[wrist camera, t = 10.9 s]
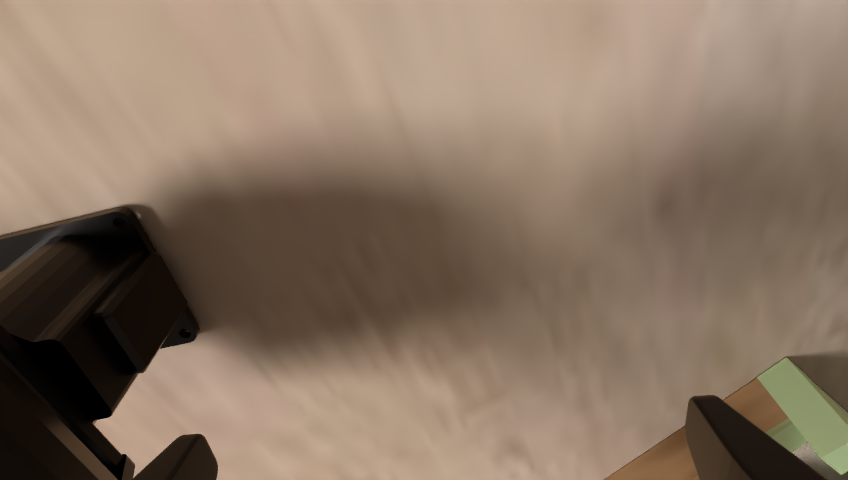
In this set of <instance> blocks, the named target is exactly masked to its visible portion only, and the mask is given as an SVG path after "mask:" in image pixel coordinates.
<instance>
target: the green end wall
mask: <svg viewBox="0 0 848 480" xmlns="http://www.w3.org/2000/svg"><path fill="white" fill-rule="evenodd" d="M757 378H758V380H759V381H760V382H761V383H762V385H763V386H764V387H765V388H766V390H767V391H768V392H769V394H770V395H771V396H772V397H773V399H774V400H775V401H776V402H777V404H778V405H779V406H780V408H781V409H782V410H783V411H784V413H785V414H786V415H787V416H788V418H789V419H790V420H791V422H792V423H793V424H794V425H795V427H796V428H797V429H798V430H799V432H800V433H801V434H802V435H803V437H804V438H805V439H806V441H807V442H808V443H809V444H810V446H811V447H812V448H813V449H814V451H815V452H816V453H817V455H818V456H819V457H820V458H821V459H822V460H823V461H824V462H826V463H827V464H828V465H829V466H831V467H832V468H833V469H834V470H836V471H837V472H838V473H839V474H841V475H842V474H844V473H846V472H847V471H848V413H847V412H846V411H845V410H844V409H843V408H842V407H841V406H840V405H838V404H837V403H836V402H835V401H834V400H833V399H832V398H830V397H829V396H828V395H827V394H826V393H825V392H824V391H823V390H821V389H820V388H819V387H818V386H817V385H816V384H815V383H813V382H812V381H811V380H810V379H809V377H808V376H807V375H806V374H805V373H804V372H803V371H801V370H800V369H799V368H798V367H797V366H796V365H795V364H794V363H792V362H791V361H790V360H789V359H788V358H787V357H786V358H784V359H783V360H781V361H780V362H778V363H777V364H776V365H774V366H773V367H771V368H770V369H768V370H767V371H765V372H764V373H762V374H761V375H759V376H758V377H757Z"/></svg>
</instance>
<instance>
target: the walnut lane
mask: <svg viewBox="0 0 848 480" xmlns="http://www.w3.org/2000/svg"><path fill="white" fill-rule="evenodd" d="M723 401H724V402H726V403H727V404H728V405H729V406H731V407H732V408H733V409H735V410H736V411H737V412H739V413H740V414H741V415H743V416H744V417H745V418H747V419H748V420H749V421H751V422H752V423H753V424H754V425H756V426H757V427H758V428H760V429H761V430H762V431H764V432H765V433H766V434H768V435H769V436H770V437H772V438H773V439H774V440H776V441H777V442H778V443H779V444H781V445H782V446H783V447H785V448H786V449H787V450H789V451H790V452H793V451H794V450H796V449H798V448H799V447H801V446H803V445H804V444H806V443H808V442H807V441H806V439H805V438H804V437H803V435H802V434H801V433H800V432H799V430H798V429H797V428H796V427H795V425H794V424H793V423H792V422H791V420H790V419H789V418H788V416H787V415H786V414H785V413H784V411H783V410H782V409H781V408H780V406H779V405H778V404H777V402H776V401H775V400H774V399H773V397H772V396H771V395H770V394H769V392H768V391H767V390H766V388H765V387H764V386H763V385H762V383H761V382H760V381H759V380H758V378H756V379H755V380H753V381H752V382H750V383H749V384H747V385H746V386H744V387H743V388H741V389H740V390H738V391H737V392H735V393H734V394H732V395H731V396H729V397H728V398H726V399H725V400H723ZM605 480H700V479H699V476H698V473H697V471H696V468H695V465H694V462H693V459H692V456H691V453H690V450H689V447H688V444H687V441H686V436H685V426H684V427H683V428H681V429H680V430H678V431H677V432H675V433H674V434H672V435H671V436H669V437H668V438H666V439H665V440H663V441H662V442H660V443H659V444H657V445H656V446H654V447H653V448H651V449H650V450H649V451H647V452H646V453H644V454H643V455H641V456H640V457H638V458H637V459H635V460H634V461H632V462H631V463H629V464H628V465H626V466H625V467H623V468H622V469H620V470H619V471H617V472H616V473H614V474H613V475H611V476H610V477H608V478H607V479H605Z"/></svg>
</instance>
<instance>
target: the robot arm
mask: <svg viewBox="0 0 848 480" xmlns="http://www.w3.org/2000/svg"><path fill="white" fill-rule="evenodd" d="M118 218H122V219H124V221H125V222H126V224H122V223H121V222H120V221H119V220H118ZM183 329H186V330H188V331H189V332H186V331H184V330H183ZM199 331H200V328H199V325H198V323H197V321H196V320H195V318H194V316H193V314H192V313H191V311H190V309H189V307H188V306H187V301H186V299H185V298H184V296H183V294H182V292H181V291H180V289H179V287H178V285H177V284H176V282H175V280H174V278H173V277H172V275H171V273H170V271H169V269H168V268H167V266H166V264H165V262H164V261H163V259H162V257H161V256H160V255H159V254H158V253H157V251H156V249H155V248H154V246H153V244H152V242H151V241H150V239H149V237H148V235H147V234H146V232H145V230H144V228H143V227H142V225H141V223H140V221H139V220H138V218H137V216H136V215H135V214H134V212H133V211H131V210H129V209H127V208H124V207H118V208H114V209H110V210H106V211H102V212H98V213H93V214H89V215H85V216H81V217H77V218H73V219H69V220H65V221H61V222H57V223H53V224H48V225H44V226H40V227H36V228H32V229H28V230H24V231H20V232H16V233H12V234H8V235H4V236H0V480H216V478H217V473H218V465H217V461H216V458H215V456H214V454H213V452H212V450H211V448H210V446H209V444H208V442H207V440H206V438H205V437H204V436H203V435H201V434H190V435H182V436H180V437H178V438H177V439H176V440H175V441H173V442H172V443H171V444H170V445H169V446H168V447H167V448H166V449H165V450H164V451H163V452H161V453H160V454H159V455H158V456H157V457H156V458H155V459H154V460H153V461H152V462H151V463H149V464H148V465H147V466H146V467H145V468H144V469H143V470H142V471H141V472H140V473H138V474H137V475H136V476H135V477H134V478H133V475H134V469H135V464H134V463H133V462H132V461H131V459H130V458H129V457H128V456H127V455H126V454H122V455H121V453H120V452H119V451H118V450H117V449H116V448H115V447H114V446H113V445H112V444H111V443H110V442H109V440H108V439H107V438H106V437H105V436H104V435H103V434H102V433H101V432H100V431H99V430H98V429H97V428H96V426H95V425H94V424H95V422H96V421H97V420H99V419H104V418H108V417H110V416H111V415H112V414H113V412H114V411H115V409H116V408H117V406H118V405H119V403H120V401H121V400H122V398H123V397H124V395H125V394H126V392H127V391H128V389H129V388H130V386H131V384H132V383H133V381H134V380H135V378H136V377H137V375H138V374H140V373H144V372H145V371H146V369H147V368H148V366H149V365H150V363H151V361H152V360H153V358H154V357H155V355H156V354H157V352H158V350H159V349H161V348H166V347H170V346H175V345H180V344H185V343H189V342H192V341H194V340H195V339H196V337H197V335H198V334H199ZM685 436H686V441H687V444H688V447H689V450H690V453H691V456H692V459H693V462H694V465H695V468H696V471H697V473H698V476H699V479H700V480H827V479H825V478H824V477H823V476H822V475H820V474H819V473H818V472H816V471H815V470H814V469H812V468H811V467H810V466H808V465H807V464H806V463H804V462H803V461H802V460H801V459H799V458H798V457H797V456H795V455H794V454H793V453H791V452H790V451H789V450H787V449H786V448H785V447H783V446H782V445H781V444H779V443H778V442H777V441H776V440H774V439H773V438H772V437H770V436H769V435H768V434H766V433H765V432H764V431H762V430H761V429H760V428H758V427H757V426H756V425H754V424H753V423H752V422H751V421H749V420H748V419H747V418H745V417H744V416H743V415H741V414H740V413H739V412H737V411H736V410H735V409H733V408H732V407H731V406H729V405H728V404H727V403H726V402H724V401H723V400H722V399H720V398H719V397H717V396H714V395H704V396H694V397H691V398H690V400H689V403H688V410H687V417H686V424H685Z"/></svg>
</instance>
